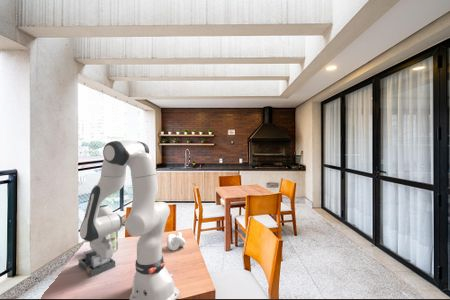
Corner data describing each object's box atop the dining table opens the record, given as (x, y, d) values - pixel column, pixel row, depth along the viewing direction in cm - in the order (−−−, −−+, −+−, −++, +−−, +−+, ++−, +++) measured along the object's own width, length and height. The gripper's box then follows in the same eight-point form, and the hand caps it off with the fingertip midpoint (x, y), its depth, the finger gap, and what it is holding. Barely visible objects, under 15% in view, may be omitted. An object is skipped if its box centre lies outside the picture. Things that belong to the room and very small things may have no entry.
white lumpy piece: (166, 244, 142) (166, 231, 142) (184, 242, 145) (184, 229, 145) (166, 252, 131) (166, 238, 131) (185, 250, 134) (185, 236, 134)
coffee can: (106, 246, 138) (106, 225, 138) (121, 247, 137) (121, 226, 137) (95, 254, 128) (95, 231, 127) (111, 255, 127) (111, 232, 126)
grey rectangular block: (110, 263, 114) (110, 252, 114) (93, 270, 108) (93, 258, 108) (107, 261, 116) (107, 250, 116) (91, 268, 110) (91, 256, 110)
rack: (115, 266, 115) (115, 254, 115) (90, 277, 105) (90, 263, 105) (101, 256, 126) (101, 244, 125) (77, 265, 116) (77, 252, 116)
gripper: (116, 238, 108) (116, 265, 108) (99, 229, 120) (99, 253, 121) (103, 243, 103) (103, 271, 103) (87, 232, 115) (87, 257, 116)
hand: (101, 261), depth 112 cm, fingers closed on grey rectangular block, 3 cm apart
